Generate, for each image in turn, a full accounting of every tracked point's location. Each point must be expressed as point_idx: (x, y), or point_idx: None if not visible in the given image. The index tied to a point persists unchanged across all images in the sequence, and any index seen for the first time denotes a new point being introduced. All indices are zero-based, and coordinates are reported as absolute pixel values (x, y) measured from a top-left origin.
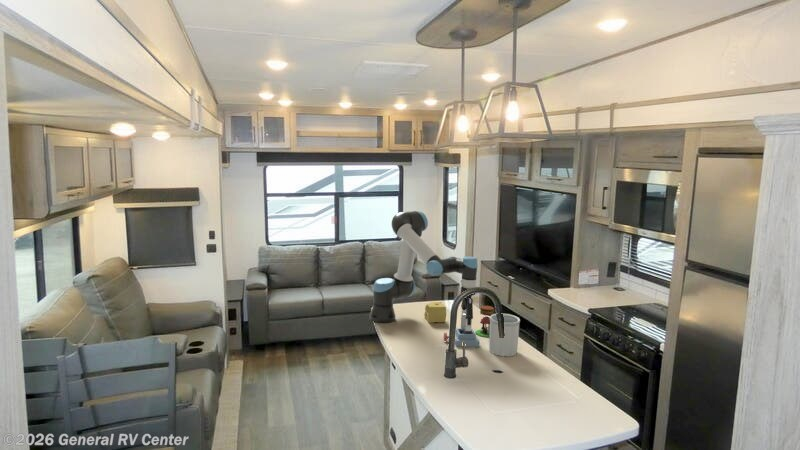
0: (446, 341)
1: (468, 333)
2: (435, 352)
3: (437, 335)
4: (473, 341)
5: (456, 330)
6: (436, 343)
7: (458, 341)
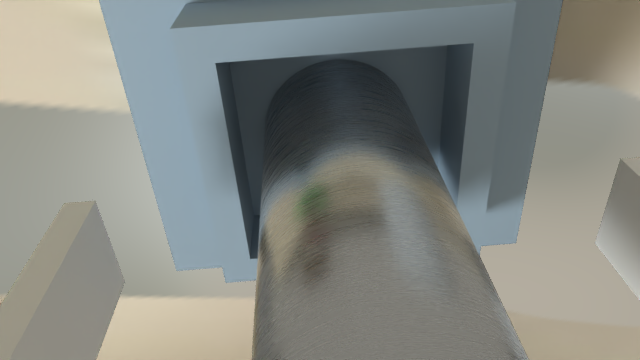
0: None
1: (413, 119)
2: (612, 347)
3: (195, 336)
4: (554, 23)
5: None
6: None
7: (517, 213)
